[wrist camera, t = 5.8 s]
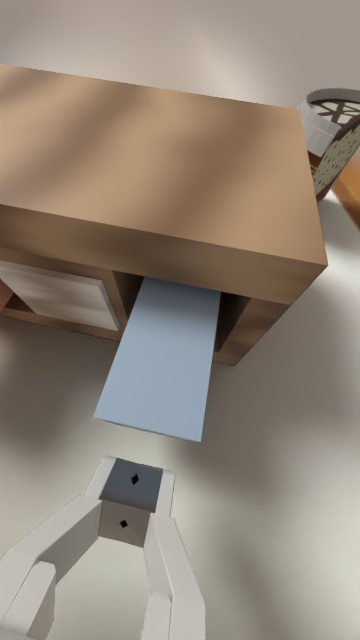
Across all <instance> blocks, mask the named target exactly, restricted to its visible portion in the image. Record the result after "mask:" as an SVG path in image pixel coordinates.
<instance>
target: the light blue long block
mask: <svg viewBox="0 0 360 640" xmlns="http://www.w3.org/2000/svg"><path fill="white" fill-rule="evenodd" d="M220 297H221V291H217V290H212V289H207V288H201V287H196V286H191V285H186V284H181V283H176V282H171V281H166V280H161V279H156V278H151V277H146V276H145V277H144V280H143V282H142V285H141V288H140V290H139V293H138V296H137V299H136V301H135V304H134V307H133V309H132V312H131V315H130V318H129V320H128V323H127V326H126V328H125V331H124V334H123V336H122V339H121V342H120V345H119V347H118V350H117V353H116V355H115V358H114V361H113V363H112V366H111V369H110V372H109V374H108V377H107V380H106V382H105V385H104V388H103V391H102V393H101V396H100V399H99V401H98V404H97V407H96V409H95V412H94V415H93V417H94V418H98V419H101V420H104V421H107V422H110V423H114V424H117V425H121V426H125V427H129V428H134V429H138V430H142V431H147V432H151V433H155V434H159V435H164V436H168V437H172V438H177V439H181V440H185V441H191V442H201V437H202V429H203V422H204V415H205V407H206V400H207V392H208V385H209V378H210V370H211V363H212V356H213V348H214V341H215V333H216V326H217V319H218V311H219V304H220Z"/></svg>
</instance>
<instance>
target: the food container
mask: <svg viewBox="0 0 360 640" xmlns="http://www.w3.org/2000/svg"><path fill="white" fill-rule="evenodd" d="M297 110H300V114H301V120H302V125H303V130H304V136H305V141H306V147H307V152H308V158H309V163H310V169H311V174H312V179H313V185H314V190H315V196H316V201H317V204H318V203H319V202H321V201H322V200H323V199H324V197H325V196H326V194H327V193H328V192H329V190H330V189H331V187H332V186H333V184H334V183H335V181H336V180H337V178H338V177H339V175H340V174H341V172H342V171H343V169H344V168H345V166H346V165H347V163H348V162H349V160H350V159H351V158H352V156H353V155H354V153H355V152H356V150H357V149H358V147H359V146H360V90H357V89H349V88H322V89H317V90H314V91H312V92H310V93H309V94H308V95H307V96H306V98H305V100H304V101H303V102H301V103H300V105H299V107H298V108H297Z"/></svg>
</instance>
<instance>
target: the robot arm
mask: <svg viewBox="0 0 360 640" xmlns="http://www.w3.org/2000/svg"><path fill="white" fill-rule="evenodd" d="M175 475H176V474H175V472H173V471H169V470H165V469H162V468H157V467H153V466H148V465H144V464H138V463H134V462H130V461H127V460H123V459H119V458H116V457H112V456H108V455H105V457H104V458H103V459H102V461H101V463H100V465H99V467H98V469H97V471H96V473H95V475H94V477H93V479H92V481H91V483H90V485H89V487H88V489H87V491H86V493H85V495H79V496H78V497H77V498H75V499H74V500H73V501H71V502H70V503H69V504H67V505H66V506H65V507H64V508H62V509H61V510H60V511H58V512H57V513H56V514H54V515H53V516H52V517H50V518H49V519H48V520H47V521H45V522H44V523H43V524H41V525H40V526H39V527H37V528H36V529H35V530H33V531H32V532H31V533H30V534H28V535H27V536H26V537H24V538H23V539H22V540H20V541H19V542H18V543H16V544H15V545H14V546H13V547H11V548H10V549H9V550H8V551H7V552H6V554H5V555H4V557H3V558H2V560H1V561H0V640H46V638H47V635H48V633H49V631H50V628H51V626H52V623H53V621H54V603H55V585H56V584H57V583H58V582H59V581H60V580H61V579H62V578H63V576H64V575H65V574H66V573H67V572H68V571H69V570H70V569H71V568H72V566H73V565H74V564H75V563H76V562H77V561H78V560H79V559H80V558H81V556H82V555H83V554H84V553H85V552H86V551H87V550H88V549H89V548H90V546H91V545H92V544H93V543H94V542H95V541H96V540H97V539H98V536H100V537H104V538H109V539H113V540H118V541H122V542H125V543H128V544H132V545H135V546H138V547H142V548H143V552H144V557H145V562H146V568H147V573H148V578H149V584H150V589H151V595H150V596H149V598H148V602H147V606H146V610H145V615H144V619H143V623H142V627H141V631H140V635H139V639H138V640H206V638H205V602H204V599H203V597H202V594H201V591H200V588H199V586H198V583H197V580H196V577H195V575H194V572H193V569H192V566H191V564H190V561H189V558H188V555H187V553H186V550H185V547H184V545H183V542H182V539H181V536H180V534H179V531H178V528H177V525H176V523H175V520H174V518H171V517H170V515H171V507H172V499H173V491H174V483H175Z"/></svg>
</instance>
